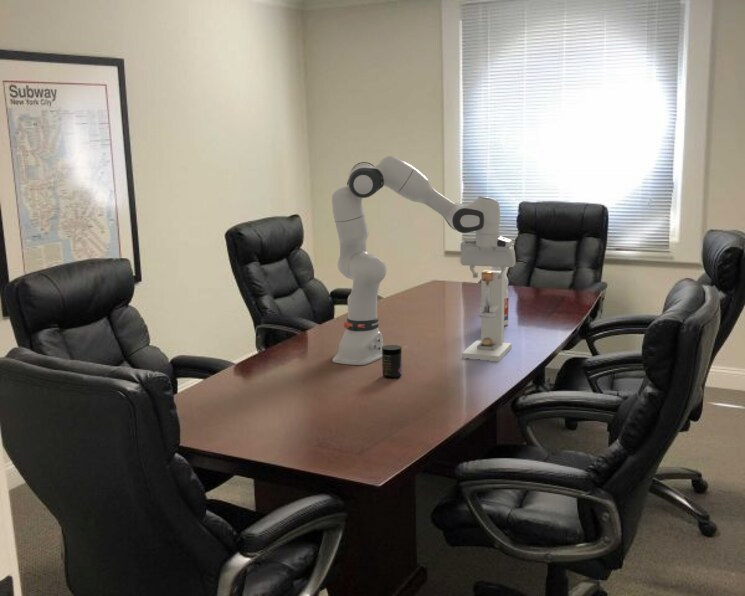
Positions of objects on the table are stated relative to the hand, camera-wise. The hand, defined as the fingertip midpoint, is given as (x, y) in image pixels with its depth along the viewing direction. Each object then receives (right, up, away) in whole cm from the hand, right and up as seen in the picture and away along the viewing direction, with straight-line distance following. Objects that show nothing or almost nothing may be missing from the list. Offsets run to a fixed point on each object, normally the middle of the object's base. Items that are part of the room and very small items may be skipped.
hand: (487, 278), depth 297 cm
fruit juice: (+12, -19, +52) cm, 57 cm away
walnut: (+1, -24, +5) cm, 25 cm away
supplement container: (-36, -35, -22) cm, 54 cm away
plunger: (0, -14, +3) cm, 14 cm away
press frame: (+1, -28, +6) cm, 29 cm away
